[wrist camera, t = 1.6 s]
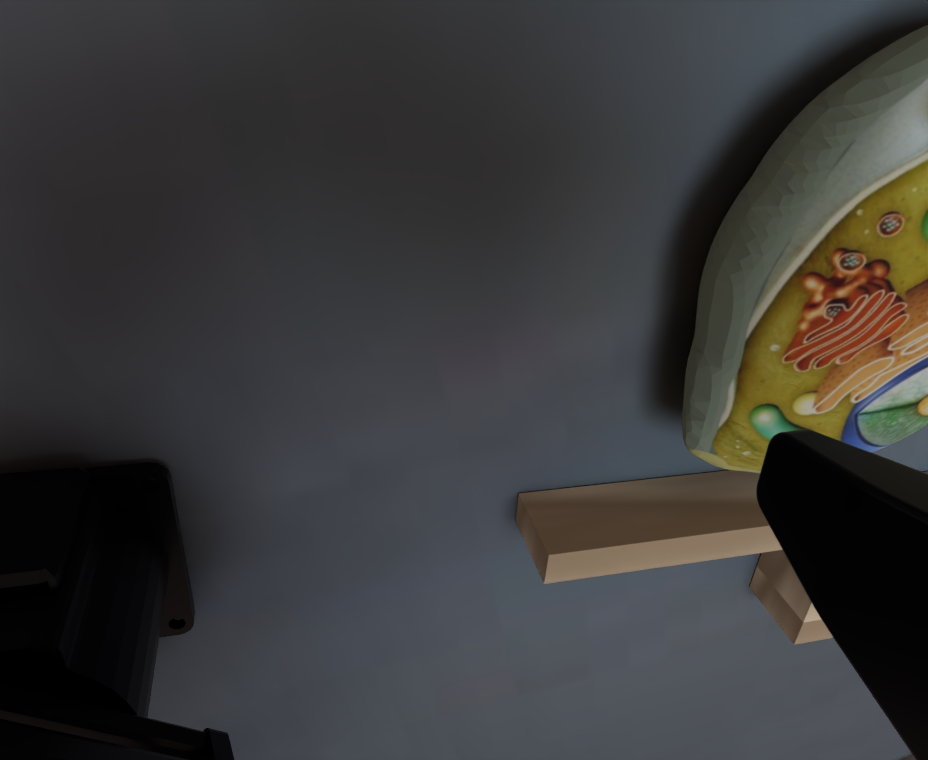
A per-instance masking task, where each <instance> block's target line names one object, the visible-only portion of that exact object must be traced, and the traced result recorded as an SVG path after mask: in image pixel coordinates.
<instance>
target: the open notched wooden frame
mask: <svg viewBox="0 0 928 760" xmlns="http://www.w3.org/2000/svg"><path fill="white" fill-rule="evenodd" d="M924 473H926V474H928V471H926V472H924ZM759 476H760V473H754V472H747V471H735V470H727V471H718V472H709V473H699V474H690V475H681V476H672V477H663V478H654V479H645V480H636V481H627V482H618V483H609V484H600V485H591V486H582V487H573V488H564V489H555V490H546V491H537V492H528V493H519V496H518V504H517V513H516V523H517V525H518V527H519V530H520V532H521V534H522V536H523V538H524V541H525V543H526V545H527V547H528V549H529V552H530V554H531V556H532V558H533V560H534V563H535V565H536V567H537V569H538V571H539V574H540V576H541V578H542V580H543V582H544V584H547V583H554V582H561V581H568V580H575V579H582V578H589V577H596V576H603V575H610V574H617V573H624V572H631V571H638V570H645V569H652V568H659V567H665V566H672V565H679V564H686V563H693V562H700V561H707V560H714V559H721V558H728V557H735V556H742V555H749V554H756V553H761V556H760V559H759V562H758V564H757V567H756V570H755V573H754V576H753V579H752V581H751V584H750V588H751V590H752V591H753V592H754V594H755V595H756V596H757V597H758V599H759V600H760V601H761V603H762V604H763V605H764V606H765V608H766V609H767V610H768V612H769V613H770V614H771V615H772V617H773V618H774V619H775V621H776V622H777V623H778V624H779V626H780V627H781V628H782V630H783V631H784V632H785V633H786V635H787V636H788V637H789V639H790V640H791V641H792V642H793V644H794V645H795V644H800V643H806V642H811V641H817V640H822V639H828V638H833V636H832V635H831V633H830V632H829V630H828V629H827V627H826V625H825V624H824V622H823V621H822V619H821V618H820V616H819V614H818V613H817V611H816V609H815V608H814V606H813V604H812V602H811V601H810V599H809V597H808V595H807V594H806V592H805V590H804V588H803V586H802V584H801V583H800V581H799V579H798V577H797V575H796V573H795V572H794V570H793V568H792V566H791V564H790V562H789V561H788V559H787V557H786V555H785V553H784V551H783V550H782V548H781V546H780V544H779V542H778V540H777V539H776V537H775V535H774V533H773V531H772V529H771V528H770V526H769V524H768V522H767V520H766V518H765V517H764V515H763V513H762V511H761V509H760V507H759V504H758V501H757V495H756V487H757V483H758V479H759Z"/></svg>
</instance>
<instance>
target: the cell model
mask: <svg viewBox="0 0 928 760" xmlns="http://www.w3.org/2000/svg"><path fill="white" fill-rule="evenodd" d="M927 424H928V25H926V26H924V27H921V28H919V29H917V30H915V31H913V32H911V33H910V34H908V35H906V36H904V37H902V38H900V39H898V40H896V41H895V42H893V43H892V44H890V45H888V46H887V47H885V48H883V49H882V50H880V51H878V52H877V53H875V54H873V55H872V56H870V57H869V58H867V59H866V60H864V61H863V62H861V63H860V64H858V65H857V66H856V67H854V68H853V69H851V70H850V71H849V72H847V73H846V74H845V75H843V76H842V77H841V78H839V79H838V80H837V81H835V82H834V83H833V84H831V85H830V86H829V87H827V88H826V89H825V90H824V91H823V92H821V93H820V94H819V95H818V96H817V97H816V98H815V99H813V100H812V101H811V102H810V103H809V104H808V105H807V106H806V107H805V108H804V109H803V110H802V111H801V112H800V113H799V114H798V115H797V116H796V117H795V118H794V119H793V120H792V121H791V122H790V124H789V125H788V126H787V127H786V128H785V130H784V131H783V132H782V133H781V134H780V135H779V137H778V138H777V139H776V141H775V142H774V143H773V145H772V146H771V147H770V149H769V150H768V152H767V153H766V154H765V156H764V157H763V159H762V160H761V162H760V164H759V165H758V167H757V169H756V170H755V172H754V174H753V175H752V177H751V178H750V180H749V181H748V182H747V184H746V185H745V186H744V188H743V189H742V191H741V192H740V193H739V195H738V196H737V198H736V199H735V201H734V203H733V204H732V206H731V207H730V209H729V211H728V212H727V214H726V216H725V217H724V219H723V221H722V223H721V225H720V227H719V229H718V231H717V233H716V236H715V238H714V240H713V242H712V245H711V248H710V251H709V253H708V257H707V260H706V263H705V266H704V269H703V273H702V278H701V282H700V288H699V295H698V302H697V312H696V325H695V333H694V338H693V342H692V346H691V350H690V354H689V357H688V362H687V368H686V374H685V385H684V400H683V411H682V431H683V439H684V442H685V445H686V447H687V448H688V450H689V451H690V452H691V453H692V454H693V455H695V456H697V457H699V458H701V459H703V460H705V461H707V462H708V463H710V464H712V465H714V466H717V467H720V468H724V469H728V470H735V471H747V472H754V473H760V472H761V469H762V465H763V461H764V458H765V454H766V451H767V447H768V444H769V441H770V440H771V439H772V437H773V436H774V435H776V434H778V433H780V432H786V431H794V430H801V429H808V430H813V431H815V432H818V433H821V434H823V435H826V436H829V437H831V438H834V439H837V440H839V441H842V442H844V443H847V444H850V445H852V446H855V447H858V448H860V449H863V450H866V451H868V452H871V453H872V452H874V451H877V450H879V449H882V448H884V447H887V446H889V445H891V444H893V443H895V442H897V441H900V440H902V439H904V438H905V437H907V436H909V435H911V434H912V433H914V432H916V431H918V430H919V429H921V428H923V427H924V426H926V425H927Z"/></svg>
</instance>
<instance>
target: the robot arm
mask: <svg viewBox="0 0 928 760" xmlns="http://www.w3.org/2000/svg"><path fill="white" fill-rule="evenodd" d="M148 478H152V479H155V480H157V481H158V483H156V484H148V483H146V482H144V479H148ZM756 495H757V501H758V504H759V507H760V509H761V511H762V513H763V515H764V517H765V518H766V520H767V522H768V524H769V526H770V528H771V529H772V531H773V533H774V535H775V537H776V539H777V540H778V542H779V544H780V546H781V548H782V550H783V551H784V553H785V555H786V557H787V559H788V561H789V562H790V564H791V566H792V568H793V570H794V572H795V573H796V575H797V577H798V579H799V581H800V583H801V584H802V586H803V588H804V590H805V592H806V594H807V595H808V597H809V599H810V601H811V602H812V604H813V606H814V608H815V609H816V611H817V613H818V614H819V616H820V618H821V619H822V621H823V622H824V624H825V625H826V627H827V629H828V630H829V632H830V633H831V635H832V636H833V638H834V639H835V641H836V642H837V644H838V645H839V647H840V648H841V650H842V651H843V653H844V654H845V655H846V657H847V658H848V660H849V661H850V663H851V664H852V666H853V667H854V669H855V670H856V672H857V673H858V675H859V676H860V678H861V679H862V681H863V682H864V683H865V685H866V686H867V688H868V689H869V691H870V692H871V694H872V695H873V697H874V698H875V700H876V701H877V703H878V704H879V706H880V707H881V709H882V710H883V712H884V713H885V714H886V716H887V717H888V719H889V720H890V722H891V723H892V725H893V726H894V728H895V729H896V731H897V732H898V734H899V735H900V737H901V738H902V740H903V741H904V743H905V744H906V745H907V747H908V748H909V750H910V751H911V753H912V754H913V756H914V757H915V759H916V760H928V474H926V473H924V472H921V471H918V470H916V469H913V468H910V467H908V466H905V465H902V464H900V463H897V462H895V461H892V460H889V459H887V458H884V457H881V456H879V455H876V454H873V453H871V452H868V451H866V450H863V449H860V448H858V447H855V446H852V445H850V444H847V443H844V442H842V441H839V440H837V439H834V438H831V437H829V436H826V435H823V434H821V433H818V432H815V431H813V430H808V429H801V430H794V431H786V432H780V433H778V434H776V435H774V436H773V437H772V439H771V440H770V441H769V444H768V447H767V451H766V454H765V458H764V461H763V465H762V469H761V472H760V476H759V479H758V483H757V487H756ZM194 614H195V610H194V605H193V599H192V593H191V588H190V582H189V576H188V571H187V565H186V559H185V554H184V548H183V542H182V537H181V531H180V525H179V520H178V514H177V508H176V503H175V497H174V491H173V486H172V480H171V475H170V473H169V470H168V469H167V468H165V467H164V466H163V465H160V464H158V463H140V464H129V465H117V466H106V467H95V468H83V469H82V468H77V467H76V468H65V469H54V470H42V471H31V472H20V473H8V474H0V760H234V757H233V752H232V748H231V744H230V740H229V736H228V733H226V732H222V731H218V730H213V729H209V728H206V729H205V730H204V731H199V730H195V729H191V728H187V727H183V726H179V725H174V724H170V723H166V722H162V721H158V720H154V719H150V718H147V716H148V709H149V703H150V696H151V689H152V682H153V675H154V669H155V662H156V655H157V648H158V641H159V637H166V636H173V635H179V634H183V633H186V632H188V631H189V630H191V628H192V627H193V624H194ZM174 618H182V619H180V620H176V619H174Z"/></svg>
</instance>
